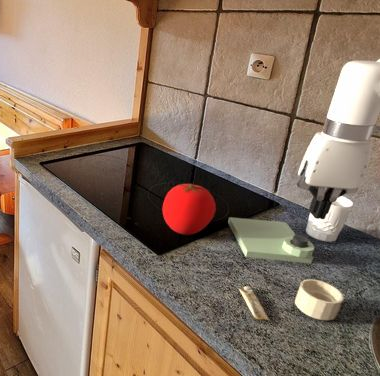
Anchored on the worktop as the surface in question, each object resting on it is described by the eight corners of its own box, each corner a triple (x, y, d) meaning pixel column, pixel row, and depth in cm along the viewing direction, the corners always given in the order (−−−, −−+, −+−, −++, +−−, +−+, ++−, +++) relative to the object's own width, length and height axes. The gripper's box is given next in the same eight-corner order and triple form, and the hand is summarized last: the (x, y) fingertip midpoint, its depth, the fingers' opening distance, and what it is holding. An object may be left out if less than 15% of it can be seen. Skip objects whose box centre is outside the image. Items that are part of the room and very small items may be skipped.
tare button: (303, 242, 93) (305, 235, 92) (308, 249, 90) (311, 242, 90) (289, 240, 93) (291, 234, 93) (294, 247, 91) (296, 241, 90)
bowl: (325, 299, 80) (332, 281, 78) (342, 324, 73) (351, 305, 72) (288, 295, 80) (294, 277, 79) (302, 320, 74) (310, 300, 72)
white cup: (343, 245, 98) (358, 209, 93) (306, 239, 100) (319, 203, 96) (334, 230, 104) (347, 195, 100) (299, 224, 107) (311, 190, 102)
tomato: (158, 237, 99) (166, 191, 94) (160, 215, 109) (167, 172, 104) (211, 246, 96) (222, 199, 91) (208, 223, 106) (218, 179, 101)
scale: (286, 228, 105) (289, 216, 103) (314, 265, 90) (319, 252, 89) (227, 222, 107) (230, 211, 105) (246, 258, 92) (249, 245, 90)
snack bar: (272, 320, 73) (257, 315, 73) (267, 326, 74) (252, 321, 73) (251, 286, 81) (238, 281, 81) (247, 291, 82) (234, 286, 82)
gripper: (379, 127, 78) (347, 211, 86) (296, 122, 80) (272, 204, 88) (403, 139, 71) (366, 229, 79) (311, 133, 73) (284, 220, 81)
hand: (316, 215), depth 83 cm, fingers closed
